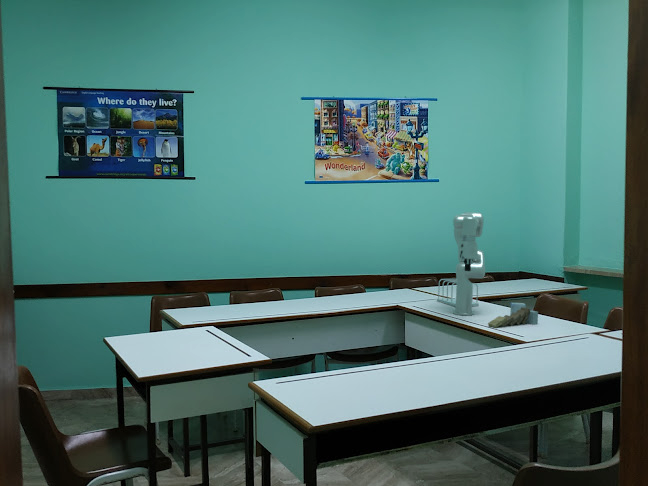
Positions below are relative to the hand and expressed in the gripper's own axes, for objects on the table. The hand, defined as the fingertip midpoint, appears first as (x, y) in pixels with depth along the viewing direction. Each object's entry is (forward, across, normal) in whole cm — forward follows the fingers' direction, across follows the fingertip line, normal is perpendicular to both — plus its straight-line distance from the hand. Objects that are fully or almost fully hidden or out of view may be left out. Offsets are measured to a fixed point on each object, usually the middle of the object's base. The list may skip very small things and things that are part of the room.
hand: (467, 270), depth 356 cm
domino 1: (+28, +1, -18) cm, 34 cm away
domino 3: (+28, +14, -19) cm, 37 cm away
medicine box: (+29, +38, -4) cm, 48 cm away
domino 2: (+28, +7, -18) cm, 34 cm away
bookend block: (+29, +31, -18) cm, 46 cm away
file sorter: (+30, +41, +50) cm, 71 cm away
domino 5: (+29, +24, -18) cm, 42 cm away
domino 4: (+28, +19, -18) cm, 39 cm away
